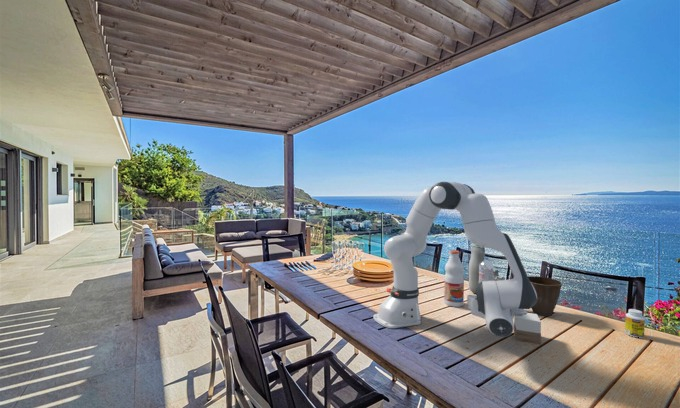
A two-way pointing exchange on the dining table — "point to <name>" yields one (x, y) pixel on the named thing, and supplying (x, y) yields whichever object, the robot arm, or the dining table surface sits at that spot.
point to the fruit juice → (454, 281)
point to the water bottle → (486, 270)
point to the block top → (528, 323)
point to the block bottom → (527, 336)
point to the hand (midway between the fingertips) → (493, 298)
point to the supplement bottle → (634, 323)
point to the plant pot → (545, 294)
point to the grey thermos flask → (475, 266)
